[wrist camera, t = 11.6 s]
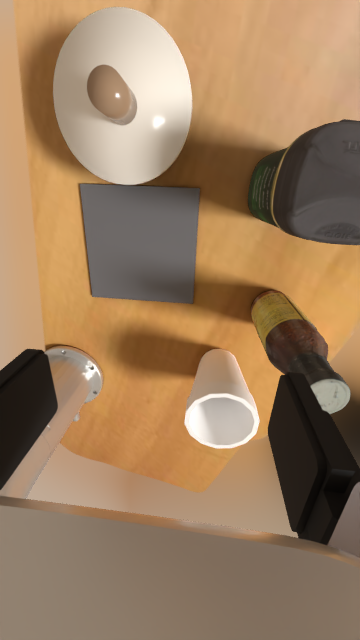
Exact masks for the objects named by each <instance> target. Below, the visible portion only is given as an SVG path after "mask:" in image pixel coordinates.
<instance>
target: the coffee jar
mask: <svg viewBox="0 0 360 640" xmlns="http://www.w3.org/2000/svg"><path fill="white" fill-rule="evenodd" d="M248 206H249V209H250V211H251V213H252V214H253V215H254V216H255V217H256V218H258V219H260V220H262V221H264V222H267V223H269V224H272V225H274V226H276V227H278V228H280V229H281V230H282V231H284V232H285V233H287V234H290V235H293V236H296V237H299V238H303V239H306V240H312V241H317V242H322V243H330V244H343V245H360V121H355V120H346V119H344V120H341V121H339V122H333V123H328V124H325V125H322V126H320V127H317V128H314V129H311V130H309V131H308V132H306V133H304V134H302V135H301V136H299V137H298V138H297V139H296V140H295V141H294V142H293V143H292V144H291V145H290V146H289V147H288V148H285V149H283V150H280V151H278V152H275V153H273V154H270V155H268V156H266V157H265V158H263V159H262V160H261V161H260V162H259V163H258V164H257V166H256V167H255V169H254V172H253V175H252V178H251V182H250V186H249V193H248Z"/></svg>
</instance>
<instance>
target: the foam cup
mask: <svg viewBox="0 0 360 640" xmlns="http://www.w3.org/2000/svg"><path fill="white" fill-rule="evenodd" d="M259 422H260V421H259V417H258V412H257V408H256V405H255V402H254V399H253V396H252V395H251V394H250V392H249V390H248V388H247V385H246V383H245V380H244V378H243V375H242V373H241V370H240V368H239V365H238V363H237V360H236V358H235V356H234V355H233V354H231V353H230V352H229V351H226V350H223V349H212V350H210V351H208V352H206V353H205V354H204V356H203V357H202V358H201V360H200V363H199V367H198V370H197V374H196V377H195V380H194V384H193V387H192V390H191V394H190V396H189V397H188V399H187V407H186V416H185V425H186V427H187V429H188V431H189V433H190V435H191V436H192V437H194V438H195V439H196V440H197V441H199V442H200V443H201V444H204V445H207V446H211V447H214V448H233V447H236V446H239V445H242V444H245V443H247V442H248V441H249V440H250V439H251V438H252V437H253V436H254V435H255V434H256V432H257V429H258V425H259Z"/></svg>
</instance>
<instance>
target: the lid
mask: <svg viewBox="0 0 360 640" xmlns="http://www.w3.org/2000/svg"><path fill="white" fill-rule="evenodd" d="M53 99H54V108H55V113H56V118H57V121H58V125H59V128H60V130H61V133H62V135H63V138H64V139H65V141H66V143H67V145H68V147H69V148H70V150H71V151H72V153H73V154H74V156H75V157H76V158H77V159H78V161H79V162H80V163H81V164H82V165H83V166H84V167H85V168H86V169H88V170H89V171H90V172H92V173H93V174H94V175H96V176H98V177H100V178H101V179H104V180H106V181H109V182H112V183H116V184H122V185H137V184H142V183H146V182H148V181H151V180H153V179H155V178H157V177H158V176H160V175H161V174H162V173H164V172H165V171H166V170H167V169H168V168H169V167H170V166H171V165H172V164H173V163H174V161H175V160H176V159H177V157H178V156H179V154H180V152H181V151H182V149H183V147H184V144H185V142H186V139H187V136H188V133H189V130H190V125H191V119H192V92H191V84H190V79H189V75H188V71H187V68H186V65H185V62H184V59H183V57H182V55H181V53H180V51H179V48H178V47H177V45H176V44H175V42H174V40H173V39H172V37H171V36H170V35H169V34H168V33H167V31H166V30H165V29H164V28H163V27H162V26H161V25H160V24H159V23H158V22H156V21H155V20H154V19H152V18H151V17H149V16H148V15H146V14H144V13H142V12H140V11H137V10H134V9H130V8H126V7H111V8H105V9H102V10H99V11H96V12H94V13H92V14H90V15H89V16H87V17H86V18H84V19H83V20H82V21H81V22H79V23H78V24H77V26H76V27H75V28H74V29H73V30H72V31H71V33H70V34H69V36H68V37H67V38H66V40H65V42H64V44H63V46H62V48H61V51H60V53H59V56H58V59H57V63H56V67H55V72H54V80H53Z"/></svg>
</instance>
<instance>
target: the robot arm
mask: <svg viewBox="0 0 360 640" xmlns="http://www.w3.org/2000/svg"><path fill="white" fill-rule="evenodd" d="M102 386H103V375H102V372H101V369H100V367H99V366H98V364H97V363H96V362H95V360H94V359H93V358H91V357H90V356H89V355H88V354H86V353H85V352H83V351H81V350H79V349H77V348H73V347H69V346H56V347H52V348H50V349H48V350H46V351H45V352H43V351H42V350H36V349H26V350H25V351H23V352H22V353H21V354H20V355H19V356H18V357H16V358H15V359H14V360H13V361H12V362H10V363H9V364H8V365H7V366H5V367H4V368H3V369H2V370H1V371H0V640H360V468H359V466H358V465H357V463H356V461H355V459H354V457H353V456H352V454H351V452H350V450H349V448H348V447H347V445H346V443H345V441H344V439H343V437H342V436H341V434H340V432H339V430H338V428H337V427H336V425H335V423H334V421H333V419H332V417H331V416H330V414H329V413H328V412H327V411H324V410H323V409H322V407H321V406H320V404H319V402H318V400H317V398H316V396H315V394H314V392H313V390H312V388H311V387H310V385H309V383H308V381H307V379H306V377H305V375H304V374H303V373H297V372H286V374H285V375H281V376H280V379H279V384H278V388H277V392H276V396H275V400H274V404H273V409H272V413H271V417H270V421H269V425H268V436H269V440H270V444H271V448H272V453H273V457H274V461H275V465H276V469H277V473H278V478H279V481H280V486H281V490H282V494H283V498H284V502H285V506H286V510H287V515H288V519H289V523H290V527H291V529H292V531H293V532H297V534H298V538H295V537H290V536H285V535H279V534H273V533H267V532H260V531H254V530H248V529H241V528H235V527H229V526H222V525H214V524H207V523H199V522H192V521H186V520H178V519H171V518H164V517H157V516H150V515H142V514H135V513H128V512H120V511H113V510H106V509H98V508H91V507H83V506H76V505H68V504H61V503H53V502H45V501H37V500H29V499H26V498H27V496H28V494H29V492H30V490H31V489H32V487H33V485H34V483H35V481H36V480H37V478H38V477H39V475H40V473H41V472H42V470H43V468H44V467H45V465H46V463H47V462H48V460H49V458H50V457H51V455H52V453H53V452H54V450H55V448H56V447H57V445H58V444H59V442H60V440H61V439H62V437H63V436H64V434H65V432H66V431H67V429H68V427H69V426H70V424H71V422H72V421H78V420H79V419H80V414H79V411H80V409H81V407H82V406H83V404H84V403H87V402H90V401H92V400H93V399H95V398H96V397H97V396H98V394H99V393H100V391H101V389H102Z"/></svg>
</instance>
